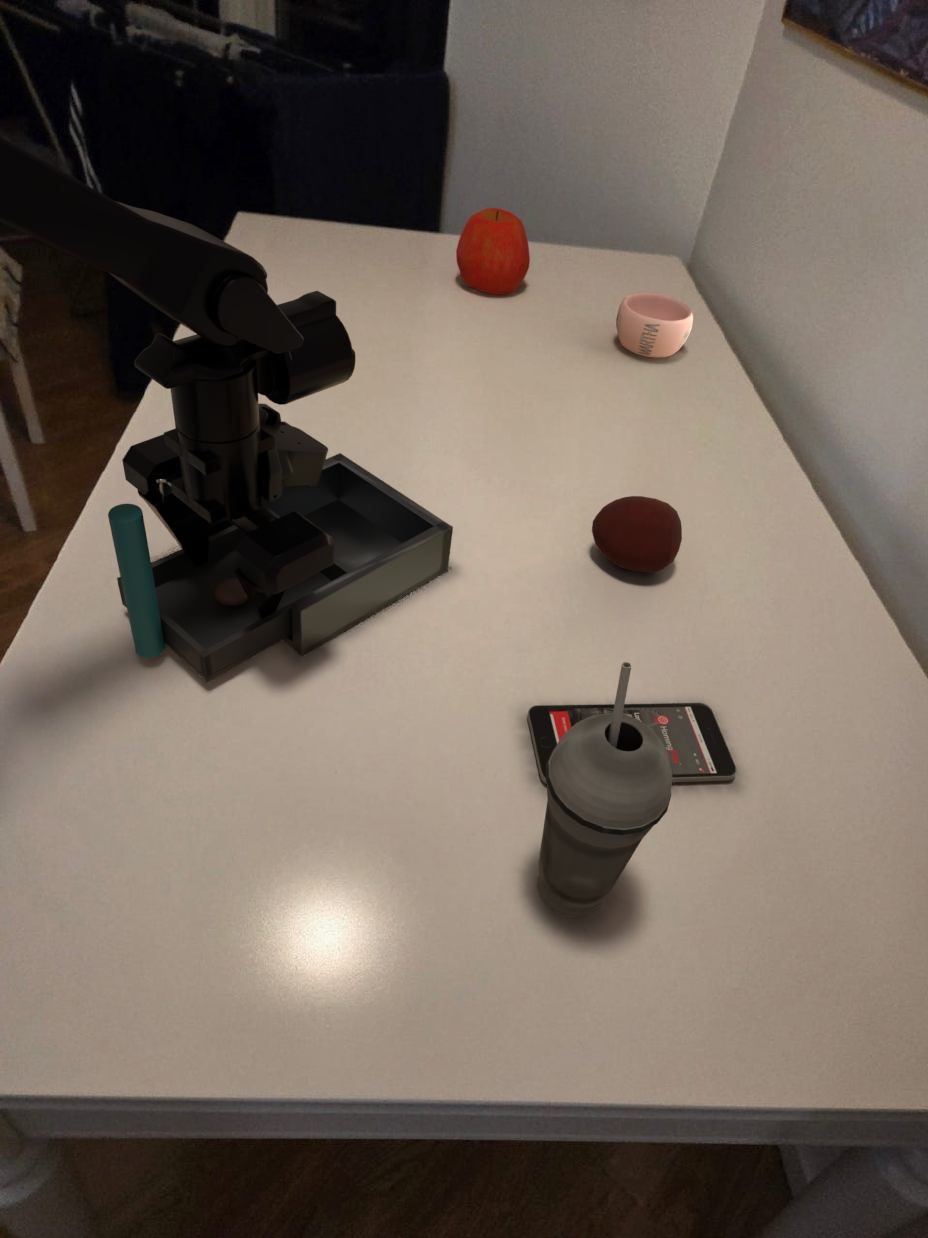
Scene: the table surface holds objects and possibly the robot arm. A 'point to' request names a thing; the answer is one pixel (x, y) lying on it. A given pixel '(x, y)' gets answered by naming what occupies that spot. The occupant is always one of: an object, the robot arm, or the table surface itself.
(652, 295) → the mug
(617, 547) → the potato
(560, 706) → the smartphone
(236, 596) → the chocolate truffle
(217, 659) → the black compartment tray
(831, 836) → the table surface
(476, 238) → the apple
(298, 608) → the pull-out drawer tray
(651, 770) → the beverage cup
